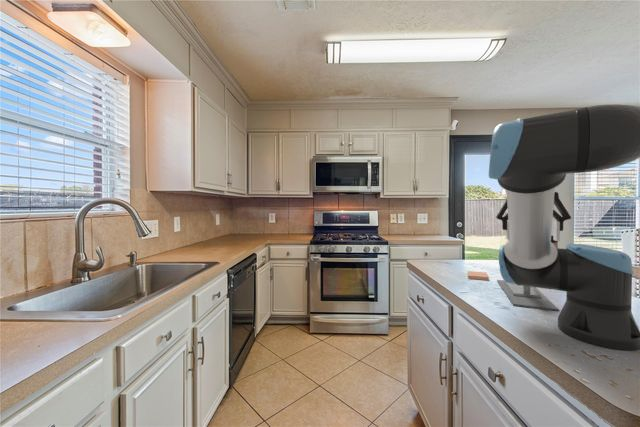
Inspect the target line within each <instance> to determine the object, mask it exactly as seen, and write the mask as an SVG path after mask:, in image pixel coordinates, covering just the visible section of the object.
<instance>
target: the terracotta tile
mask: <svg viewBox="0 0 640 427" xmlns="http://www.w3.org/2000/svg"><path fill="white" fill-rule="evenodd" d="M467 279H468V280H469V279H470V280H477V281H490V280H489V276H488V273H487V272H484V271H473V270H467Z"/></svg>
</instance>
